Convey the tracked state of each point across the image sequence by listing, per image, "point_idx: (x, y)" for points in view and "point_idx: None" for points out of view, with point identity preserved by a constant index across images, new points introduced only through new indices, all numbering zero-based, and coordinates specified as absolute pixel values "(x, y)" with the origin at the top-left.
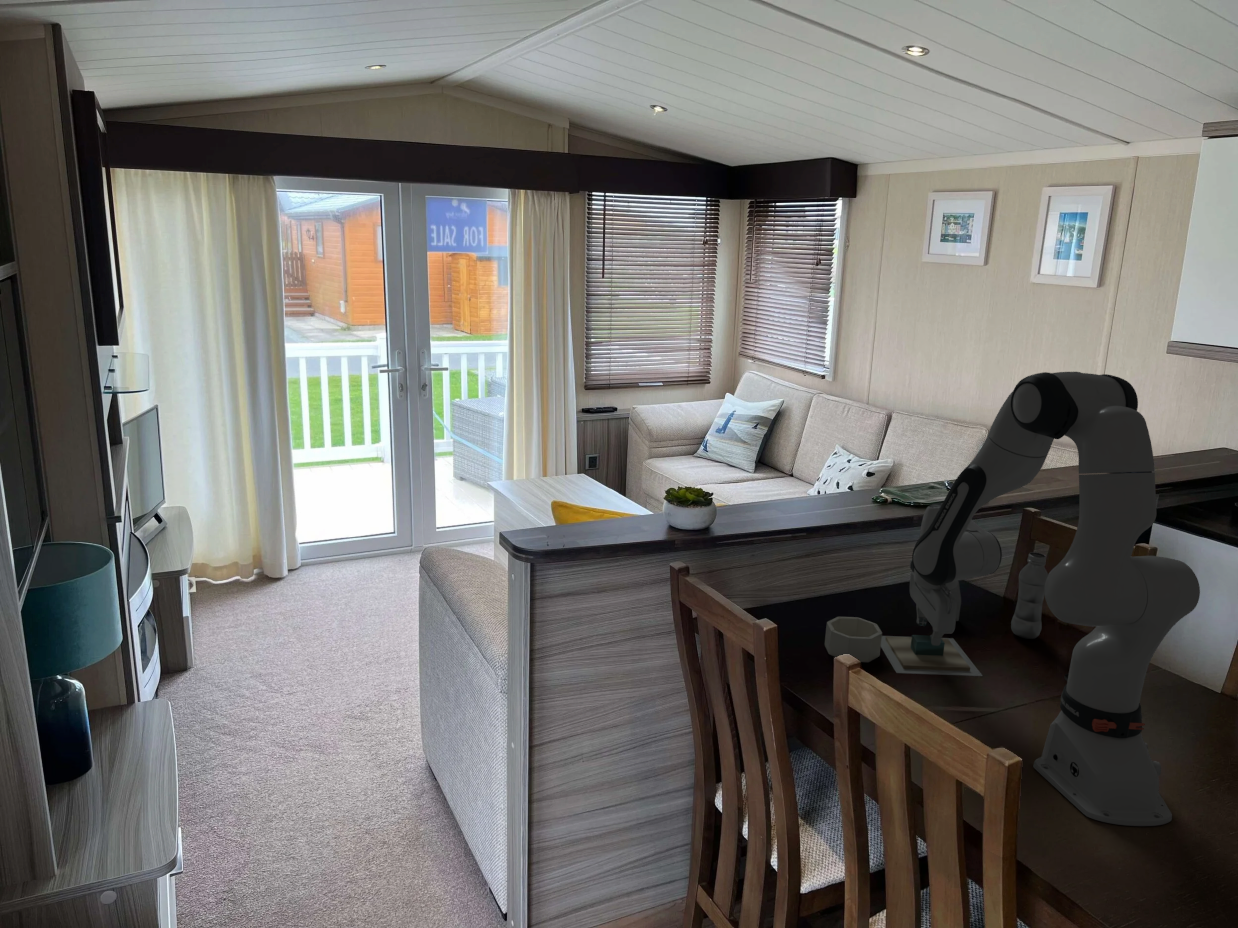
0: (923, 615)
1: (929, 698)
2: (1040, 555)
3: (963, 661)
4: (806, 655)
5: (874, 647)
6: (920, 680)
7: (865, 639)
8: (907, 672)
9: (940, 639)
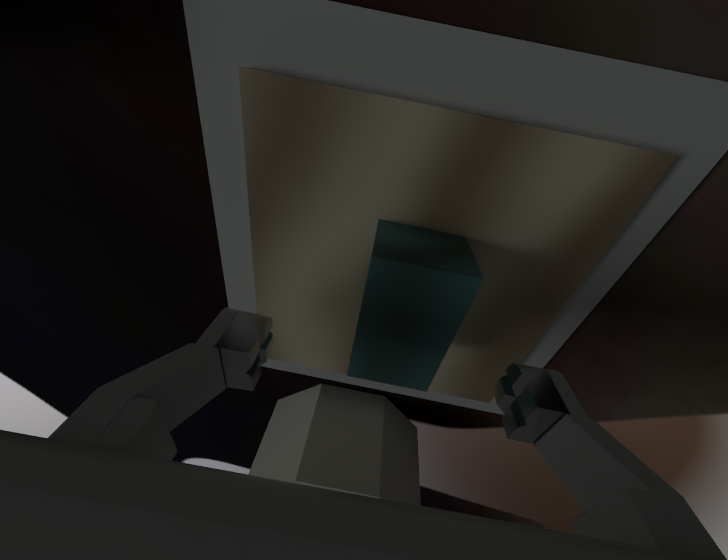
0: (210, 369)
1: (681, 399)
2: None
3: (580, 152)
4: None
5: (405, 465)
6: (564, 369)
7: None
8: None
9: (577, 405)
